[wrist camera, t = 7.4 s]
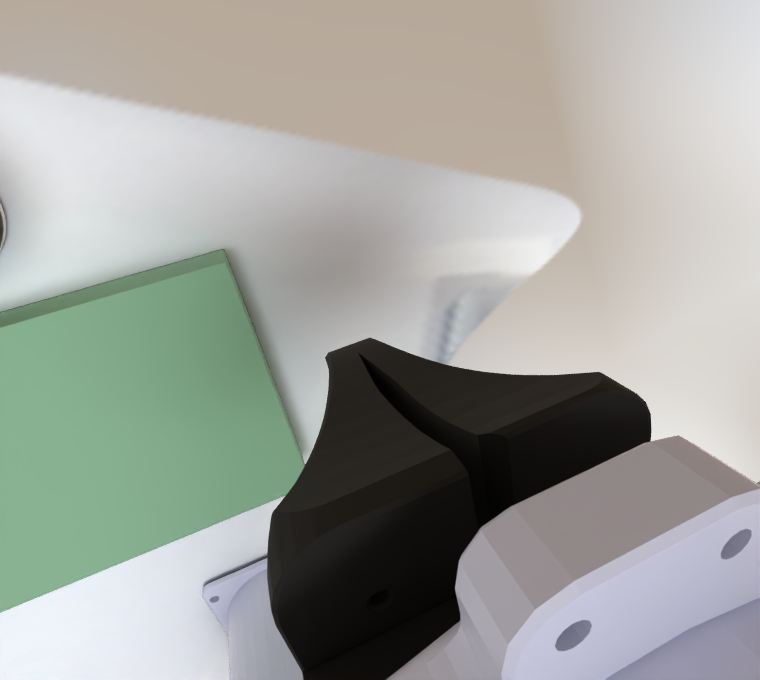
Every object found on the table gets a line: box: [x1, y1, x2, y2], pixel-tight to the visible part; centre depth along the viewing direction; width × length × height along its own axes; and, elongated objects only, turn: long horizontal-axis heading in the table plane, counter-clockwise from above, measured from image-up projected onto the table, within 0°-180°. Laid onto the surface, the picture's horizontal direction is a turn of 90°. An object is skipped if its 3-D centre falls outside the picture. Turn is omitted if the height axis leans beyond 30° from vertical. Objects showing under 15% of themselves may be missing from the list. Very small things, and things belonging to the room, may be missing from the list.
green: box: [0, 249, 305, 613], centre depth 19 cm, size 12×20×2 cm, turn 102°
